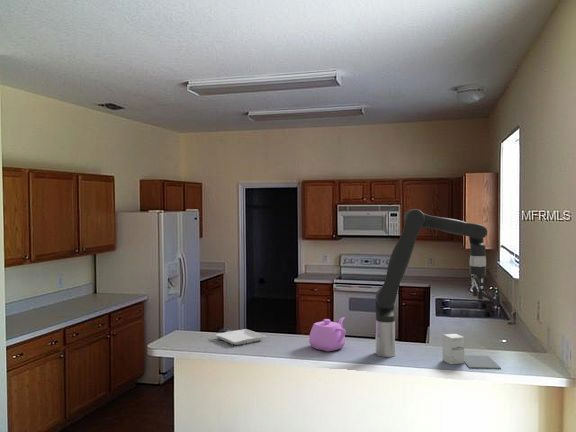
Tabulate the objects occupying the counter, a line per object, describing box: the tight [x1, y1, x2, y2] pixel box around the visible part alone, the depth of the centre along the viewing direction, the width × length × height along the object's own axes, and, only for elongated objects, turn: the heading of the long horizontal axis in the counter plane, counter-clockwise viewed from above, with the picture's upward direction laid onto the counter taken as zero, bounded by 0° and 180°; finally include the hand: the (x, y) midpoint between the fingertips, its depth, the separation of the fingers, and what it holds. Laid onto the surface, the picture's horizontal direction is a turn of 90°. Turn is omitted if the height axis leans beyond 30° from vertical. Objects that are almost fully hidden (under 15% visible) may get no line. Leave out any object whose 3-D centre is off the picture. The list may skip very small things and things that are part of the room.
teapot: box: [308, 316, 347, 352], centre depth 258 cm, size 23×21×15 cm
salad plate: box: [214, 328, 266, 346], centre depth 273 cm, size 21×21×3 cm
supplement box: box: [441, 333, 465, 365], centre depth 233 cm, size 7×7×13 cm
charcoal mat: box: [463, 354, 502, 370], centre depth 232 cm, size 14×18×1 cm
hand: (477, 297), depth 240 cm, fingers open, 8 cm apart
